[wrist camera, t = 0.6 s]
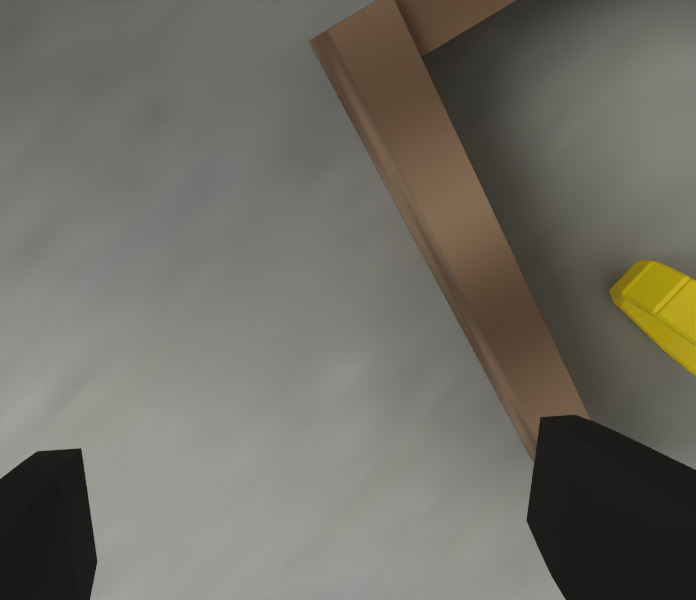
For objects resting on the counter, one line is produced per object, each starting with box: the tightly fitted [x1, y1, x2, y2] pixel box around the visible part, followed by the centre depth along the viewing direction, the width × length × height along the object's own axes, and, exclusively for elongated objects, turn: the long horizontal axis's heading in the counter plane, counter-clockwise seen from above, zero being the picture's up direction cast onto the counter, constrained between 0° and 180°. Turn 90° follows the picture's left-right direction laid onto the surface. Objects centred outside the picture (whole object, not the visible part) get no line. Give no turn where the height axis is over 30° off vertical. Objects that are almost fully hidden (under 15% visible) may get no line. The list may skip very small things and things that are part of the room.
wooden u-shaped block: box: [309, 0, 591, 462], centre depth 17 cm, size 16×12×4 cm
